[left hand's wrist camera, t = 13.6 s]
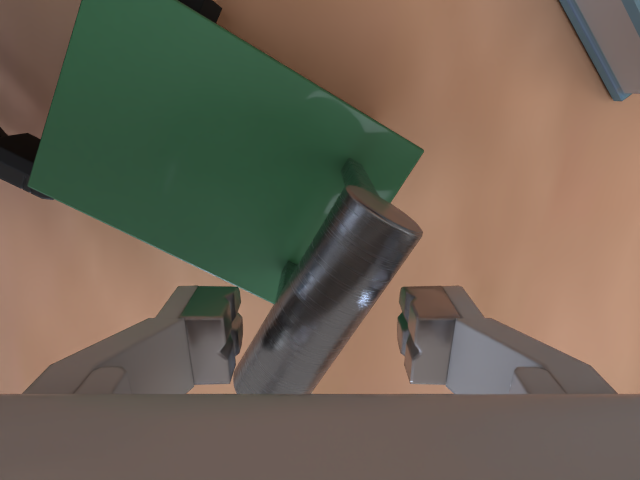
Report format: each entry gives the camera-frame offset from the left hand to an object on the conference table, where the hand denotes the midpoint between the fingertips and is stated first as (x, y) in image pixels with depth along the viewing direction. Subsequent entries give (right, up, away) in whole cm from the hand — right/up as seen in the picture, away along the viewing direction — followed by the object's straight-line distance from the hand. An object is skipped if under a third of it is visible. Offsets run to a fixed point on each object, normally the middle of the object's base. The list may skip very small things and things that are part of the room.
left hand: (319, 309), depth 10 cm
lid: (-4, +5, +7) cm, 9 cm away
